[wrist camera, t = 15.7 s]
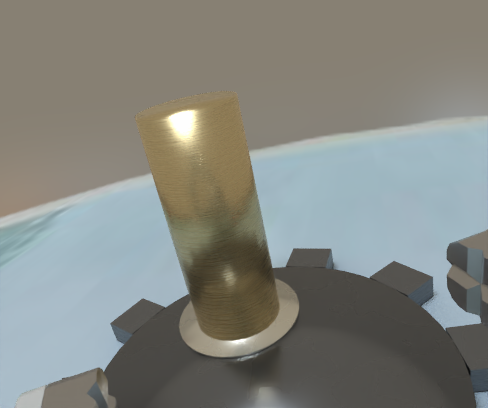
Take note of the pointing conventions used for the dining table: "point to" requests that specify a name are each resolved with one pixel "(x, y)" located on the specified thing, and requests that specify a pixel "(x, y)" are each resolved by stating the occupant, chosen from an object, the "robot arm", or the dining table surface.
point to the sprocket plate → (305, 348)
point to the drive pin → (212, 211)
